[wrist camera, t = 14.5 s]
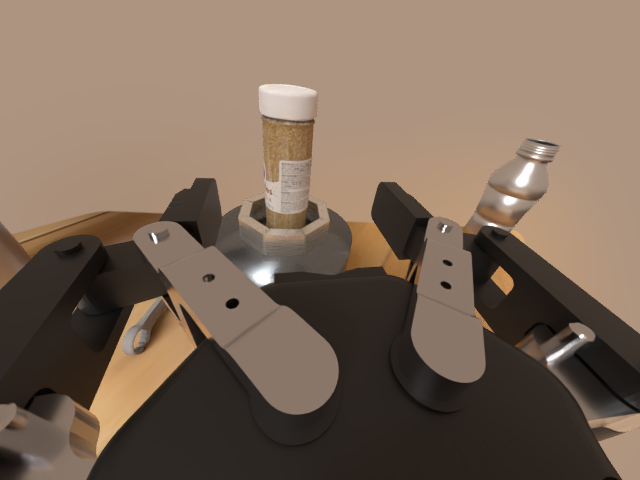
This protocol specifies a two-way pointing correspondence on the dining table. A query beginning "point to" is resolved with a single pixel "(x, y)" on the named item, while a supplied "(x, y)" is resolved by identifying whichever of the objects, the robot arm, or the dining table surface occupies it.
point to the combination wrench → (142, 328)
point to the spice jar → (287, 152)
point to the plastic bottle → (514, 187)
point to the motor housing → (283, 242)
